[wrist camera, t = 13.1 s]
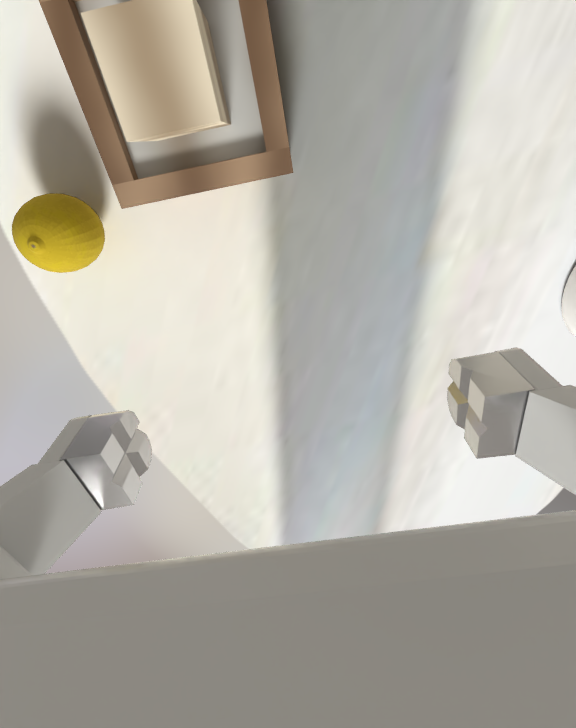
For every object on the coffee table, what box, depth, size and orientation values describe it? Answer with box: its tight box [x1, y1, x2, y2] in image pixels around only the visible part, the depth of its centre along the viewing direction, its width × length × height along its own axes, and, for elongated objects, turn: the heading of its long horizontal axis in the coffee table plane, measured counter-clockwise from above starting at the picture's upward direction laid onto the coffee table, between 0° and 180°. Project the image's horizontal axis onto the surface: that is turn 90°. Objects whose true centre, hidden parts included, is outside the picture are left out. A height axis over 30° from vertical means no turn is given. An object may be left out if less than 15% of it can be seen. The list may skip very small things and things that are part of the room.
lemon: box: [12, 193, 105, 273], centre depth 28 cm, size 6×6×8 cm
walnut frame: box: [39, 0, 293, 209], centre depth 24 cm, size 12×12×6 cm
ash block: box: [81, 0, 231, 142], centre depth 20 cm, size 5×5×6 cm
